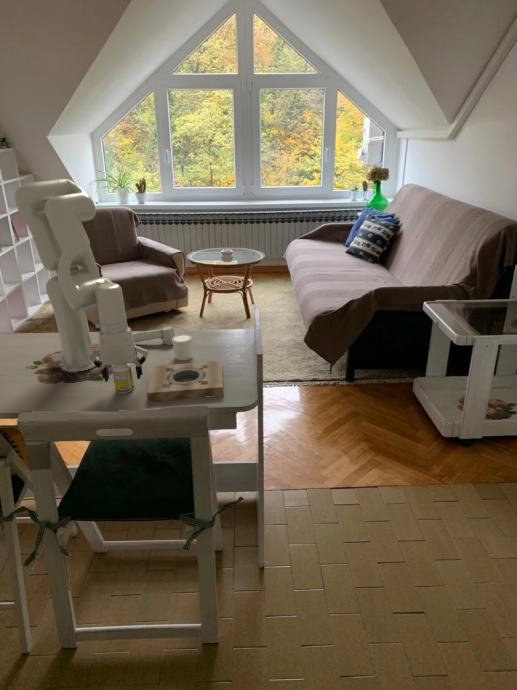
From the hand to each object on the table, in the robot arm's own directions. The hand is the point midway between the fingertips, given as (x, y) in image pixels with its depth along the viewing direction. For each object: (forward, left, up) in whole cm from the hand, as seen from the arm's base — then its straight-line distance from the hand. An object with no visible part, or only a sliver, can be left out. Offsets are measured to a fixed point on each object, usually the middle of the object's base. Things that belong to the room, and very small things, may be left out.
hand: (123, 378), depth 166 cm
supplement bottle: (0, 0, -4) cm, 4 cm away
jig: (+19, 0, -4) cm, 19 cm away
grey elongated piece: (+2, +35, -4) cm, 36 cm away
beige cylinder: (+17, +21, -4) cm, 27 cm away
